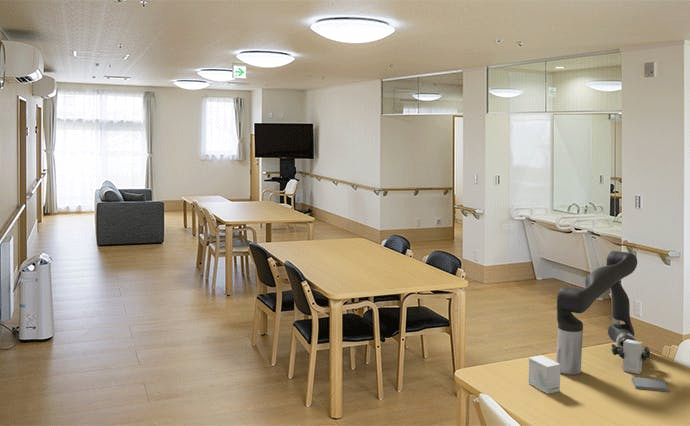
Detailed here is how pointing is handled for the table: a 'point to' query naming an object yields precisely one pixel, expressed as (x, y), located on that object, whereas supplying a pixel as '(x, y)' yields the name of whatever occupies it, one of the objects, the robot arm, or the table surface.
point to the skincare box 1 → (544, 374)
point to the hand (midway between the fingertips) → (633, 357)
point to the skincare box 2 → (632, 356)
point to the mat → (649, 384)
